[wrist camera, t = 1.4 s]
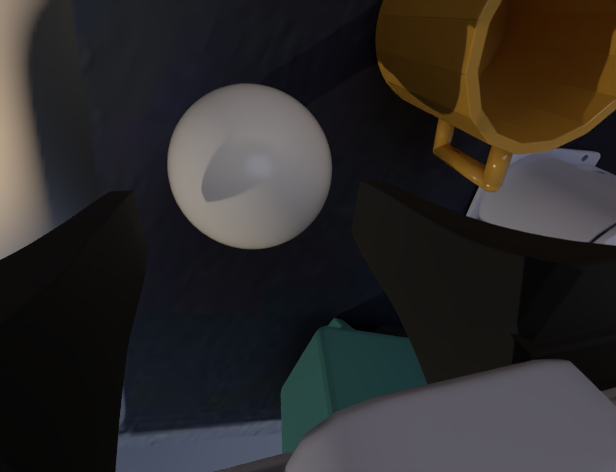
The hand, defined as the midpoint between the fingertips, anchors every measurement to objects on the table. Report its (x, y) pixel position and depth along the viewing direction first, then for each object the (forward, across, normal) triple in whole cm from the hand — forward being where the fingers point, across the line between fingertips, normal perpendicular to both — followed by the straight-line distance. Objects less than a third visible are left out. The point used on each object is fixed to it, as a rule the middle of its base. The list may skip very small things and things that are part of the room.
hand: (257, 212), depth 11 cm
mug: (+10, -12, -4) cm, 16 cm away
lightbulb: (+11, -1, 0) cm, 11 cm away
